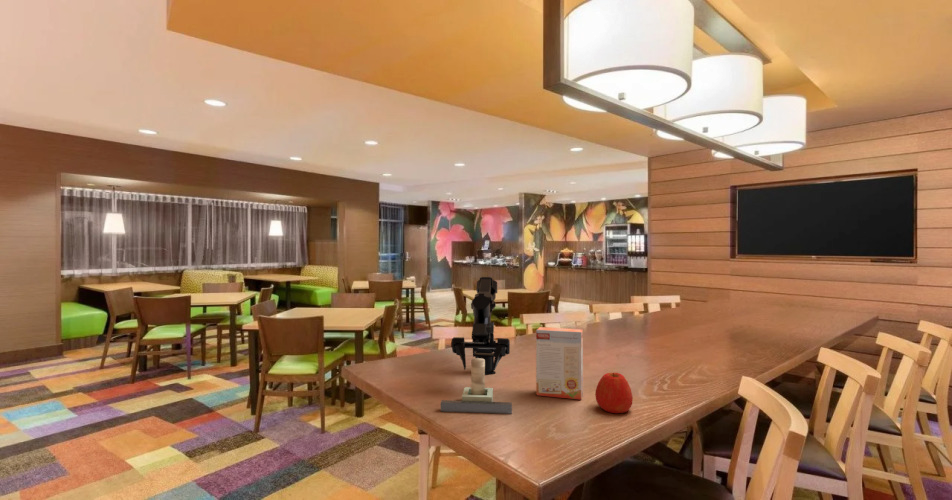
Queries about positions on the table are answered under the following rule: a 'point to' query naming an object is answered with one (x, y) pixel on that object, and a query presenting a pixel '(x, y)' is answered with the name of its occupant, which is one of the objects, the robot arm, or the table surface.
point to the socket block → (485, 398)
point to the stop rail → (476, 407)
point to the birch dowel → (477, 376)
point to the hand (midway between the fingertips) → (479, 369)
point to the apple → (614, 393)
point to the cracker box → (559, 362)
